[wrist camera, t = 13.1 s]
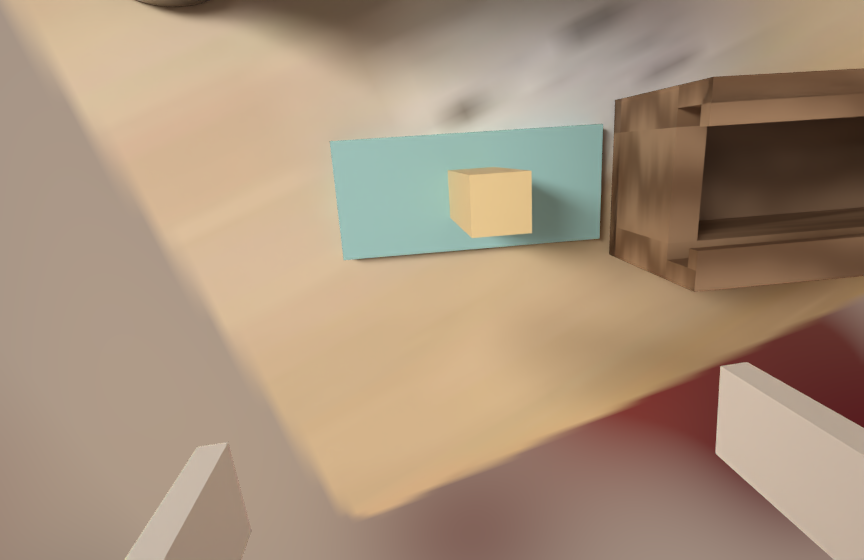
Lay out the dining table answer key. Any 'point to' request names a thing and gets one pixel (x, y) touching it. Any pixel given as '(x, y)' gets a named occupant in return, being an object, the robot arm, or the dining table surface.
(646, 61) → the dining table surface
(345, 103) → the dining table surface
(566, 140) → the cover plate
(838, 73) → the walnut box
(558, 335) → the dining table surface
